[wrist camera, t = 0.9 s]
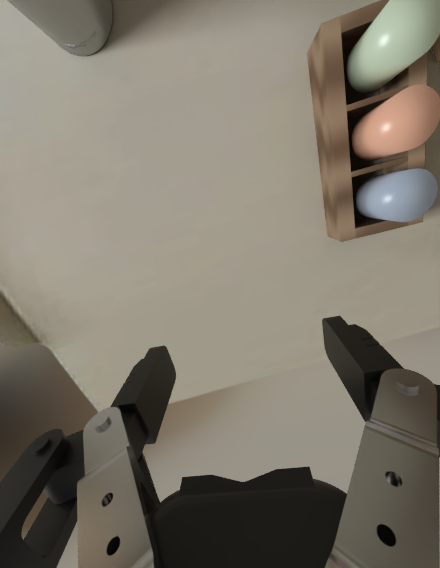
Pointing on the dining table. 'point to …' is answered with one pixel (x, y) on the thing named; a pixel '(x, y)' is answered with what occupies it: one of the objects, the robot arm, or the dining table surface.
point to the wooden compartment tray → (335, 112)
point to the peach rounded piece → (397, 124)
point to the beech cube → (437, 48)
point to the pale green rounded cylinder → (393, 43)
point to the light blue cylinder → (397, 195)
